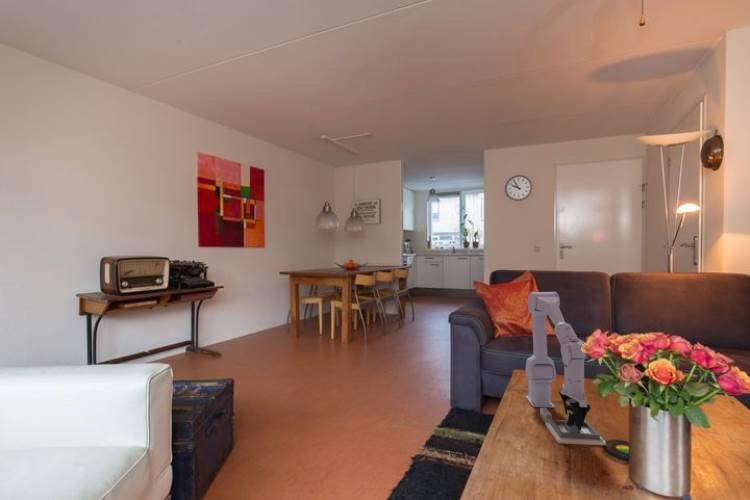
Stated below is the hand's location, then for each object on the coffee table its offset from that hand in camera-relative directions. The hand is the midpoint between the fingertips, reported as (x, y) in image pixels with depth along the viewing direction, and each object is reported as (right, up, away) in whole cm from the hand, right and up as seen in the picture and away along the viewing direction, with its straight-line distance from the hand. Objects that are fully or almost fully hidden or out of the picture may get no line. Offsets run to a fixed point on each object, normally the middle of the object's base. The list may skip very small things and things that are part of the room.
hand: (574, 419), depth 125 cm
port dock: (0, -5, 0) cm, 5 cm away
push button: (0, -4, 0) cm, 4 cm away
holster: (+1, -5, +10) cm, 11 cm away
